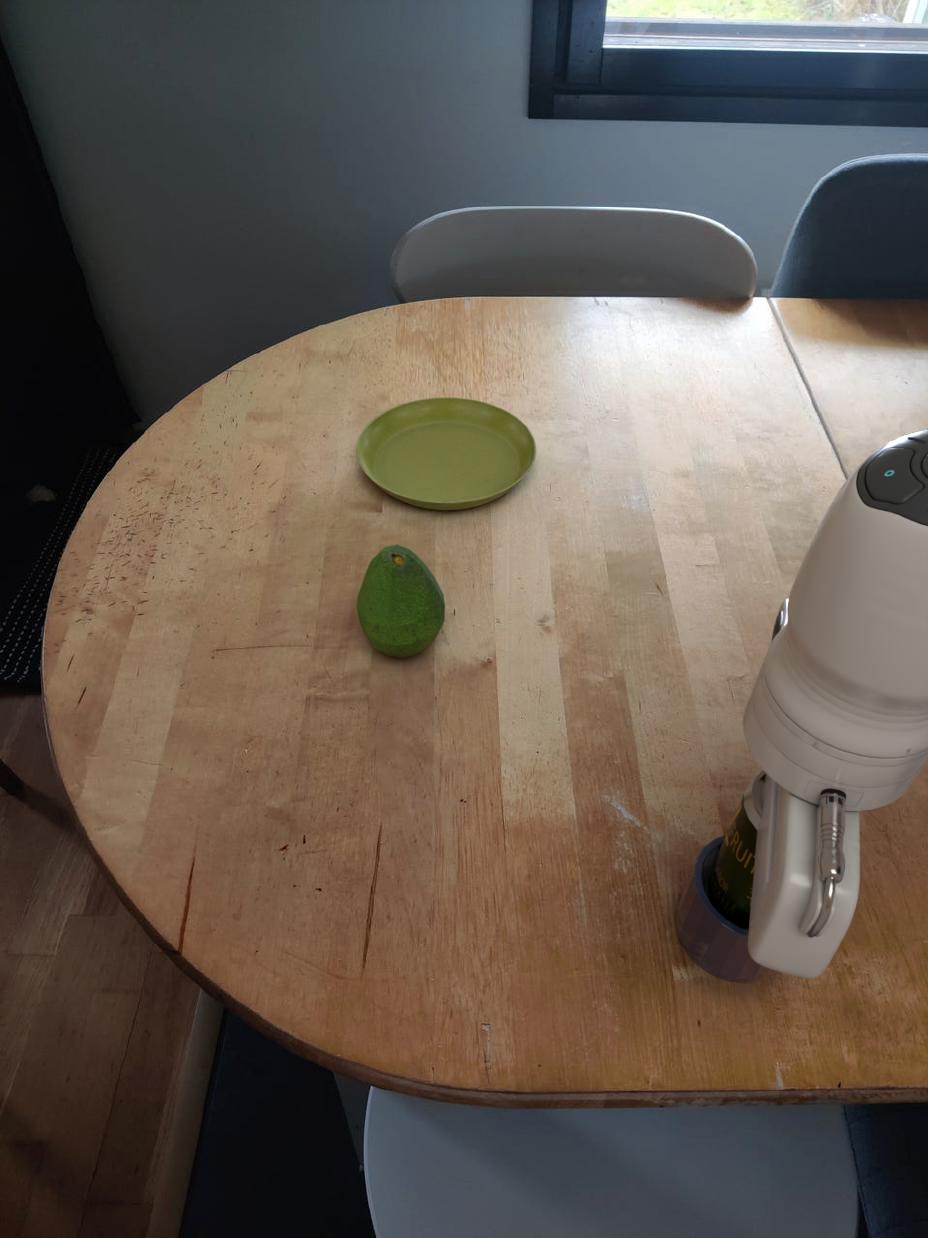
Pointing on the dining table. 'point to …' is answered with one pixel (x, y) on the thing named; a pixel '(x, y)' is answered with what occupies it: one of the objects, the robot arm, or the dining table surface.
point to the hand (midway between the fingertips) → (768, 854)
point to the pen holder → (713, 927)
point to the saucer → (446, 452)
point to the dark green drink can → (738, 858)
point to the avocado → (400, 603)
